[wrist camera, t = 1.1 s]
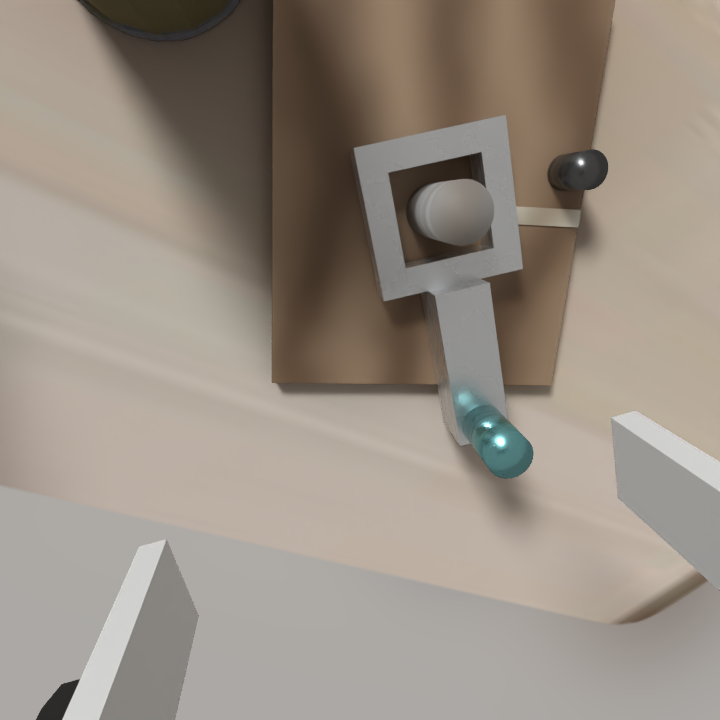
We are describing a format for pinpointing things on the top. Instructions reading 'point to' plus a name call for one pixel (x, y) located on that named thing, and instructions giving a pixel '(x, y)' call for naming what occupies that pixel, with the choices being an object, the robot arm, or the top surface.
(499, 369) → the square loop handle
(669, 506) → the robot arm
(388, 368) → the board
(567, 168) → the dowel
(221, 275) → the top surface
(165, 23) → the canister
